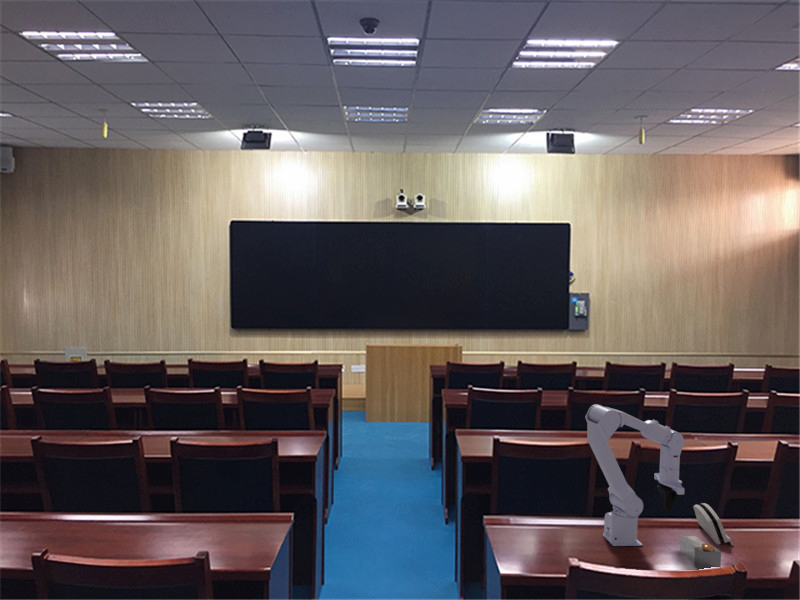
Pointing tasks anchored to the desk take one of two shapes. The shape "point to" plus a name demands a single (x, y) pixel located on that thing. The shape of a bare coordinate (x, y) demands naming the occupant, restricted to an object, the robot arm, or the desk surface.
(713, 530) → the grey black curved block
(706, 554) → the coupler
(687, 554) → the lock
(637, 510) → the robot arm
